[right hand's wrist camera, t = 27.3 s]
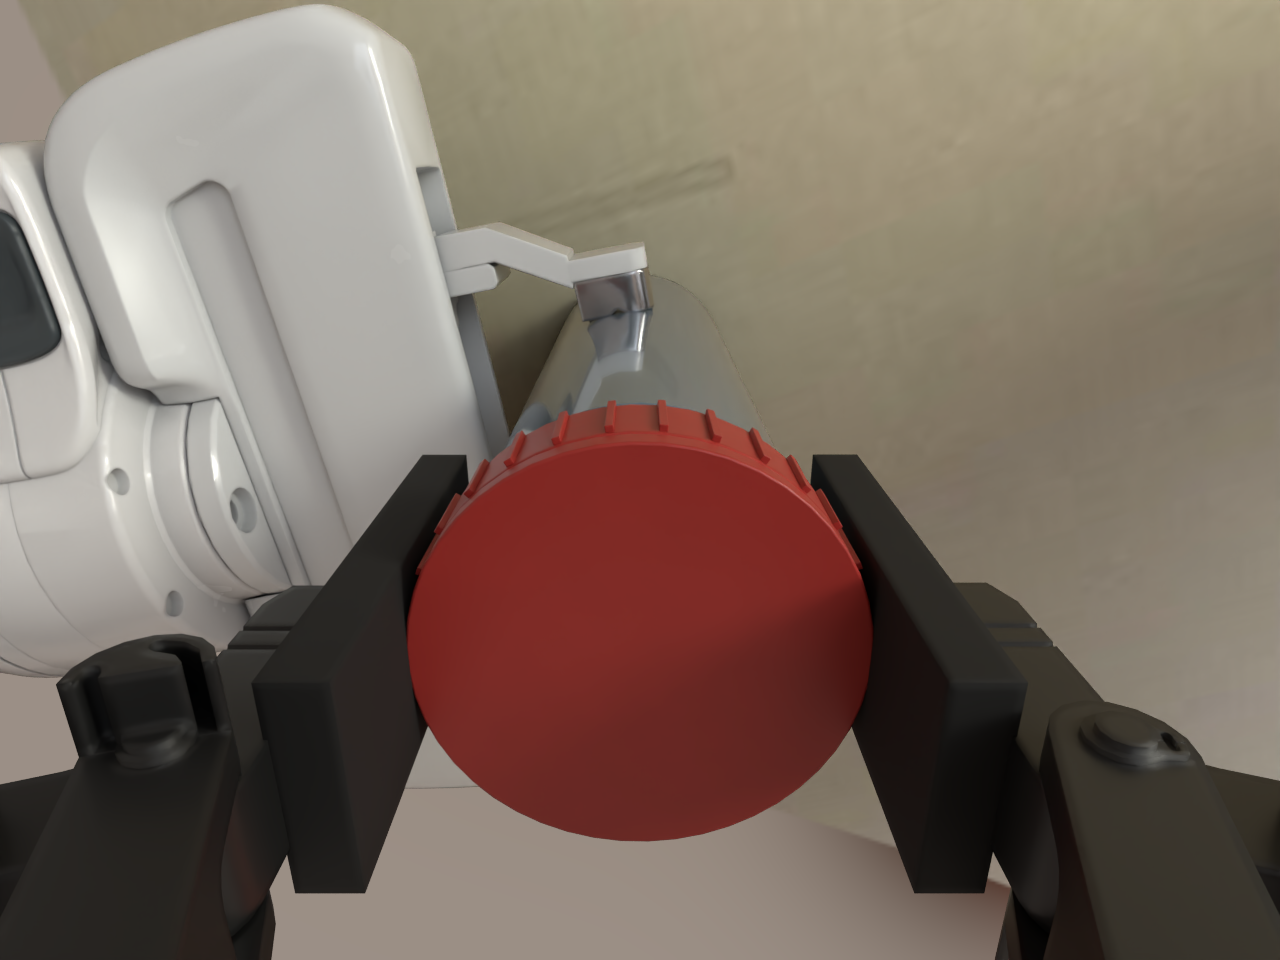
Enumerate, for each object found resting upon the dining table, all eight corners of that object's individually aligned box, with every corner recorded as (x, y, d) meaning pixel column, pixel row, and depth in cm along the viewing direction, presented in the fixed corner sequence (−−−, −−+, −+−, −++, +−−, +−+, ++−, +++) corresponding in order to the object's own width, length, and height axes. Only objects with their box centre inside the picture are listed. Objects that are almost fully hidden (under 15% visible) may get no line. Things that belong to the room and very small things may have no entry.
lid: (625, 300, 10) (623, 324, 9) (936, 588, 12) (980, 651, 10) (346, 609, 12) (303, 674, 10) (650, 826, 13) (652, 911, 12)
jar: (718, 437, 28) (815, 770, 12) (559, 436, 28) (461, 769, 12) (725, 275, 26) (852, 434, 10) (554, 273, 26) (429, 432, 10)
